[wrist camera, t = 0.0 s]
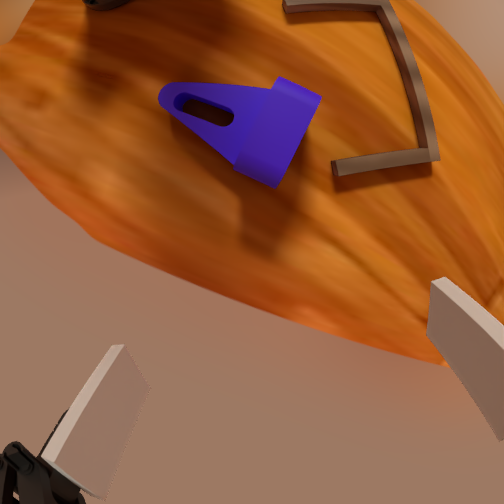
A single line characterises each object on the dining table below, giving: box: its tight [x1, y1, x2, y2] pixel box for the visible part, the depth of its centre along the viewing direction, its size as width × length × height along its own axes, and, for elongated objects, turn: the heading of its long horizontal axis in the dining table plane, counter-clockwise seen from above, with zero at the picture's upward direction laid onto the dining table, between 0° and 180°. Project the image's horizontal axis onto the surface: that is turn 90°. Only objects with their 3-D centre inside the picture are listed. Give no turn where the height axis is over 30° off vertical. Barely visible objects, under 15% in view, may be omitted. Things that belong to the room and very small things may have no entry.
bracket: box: [158, 76, 322, 189], centre depth 28 cm, size 18×11×12 cm, turn 65°
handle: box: [282, 0, 440, 176], centre depth 29 cm, size 28×17×2 cm, turn 14°
